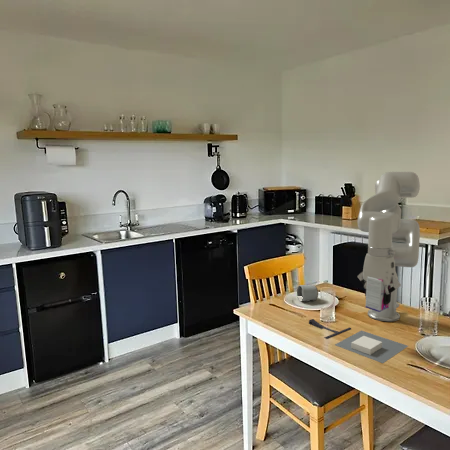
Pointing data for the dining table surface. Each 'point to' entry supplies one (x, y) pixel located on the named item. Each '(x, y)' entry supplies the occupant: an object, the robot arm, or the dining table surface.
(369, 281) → the supplement box
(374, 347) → the tile
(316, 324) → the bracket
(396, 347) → the mat
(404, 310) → the dining table surface
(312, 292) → the ceramic mug
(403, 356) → the dining table surface
